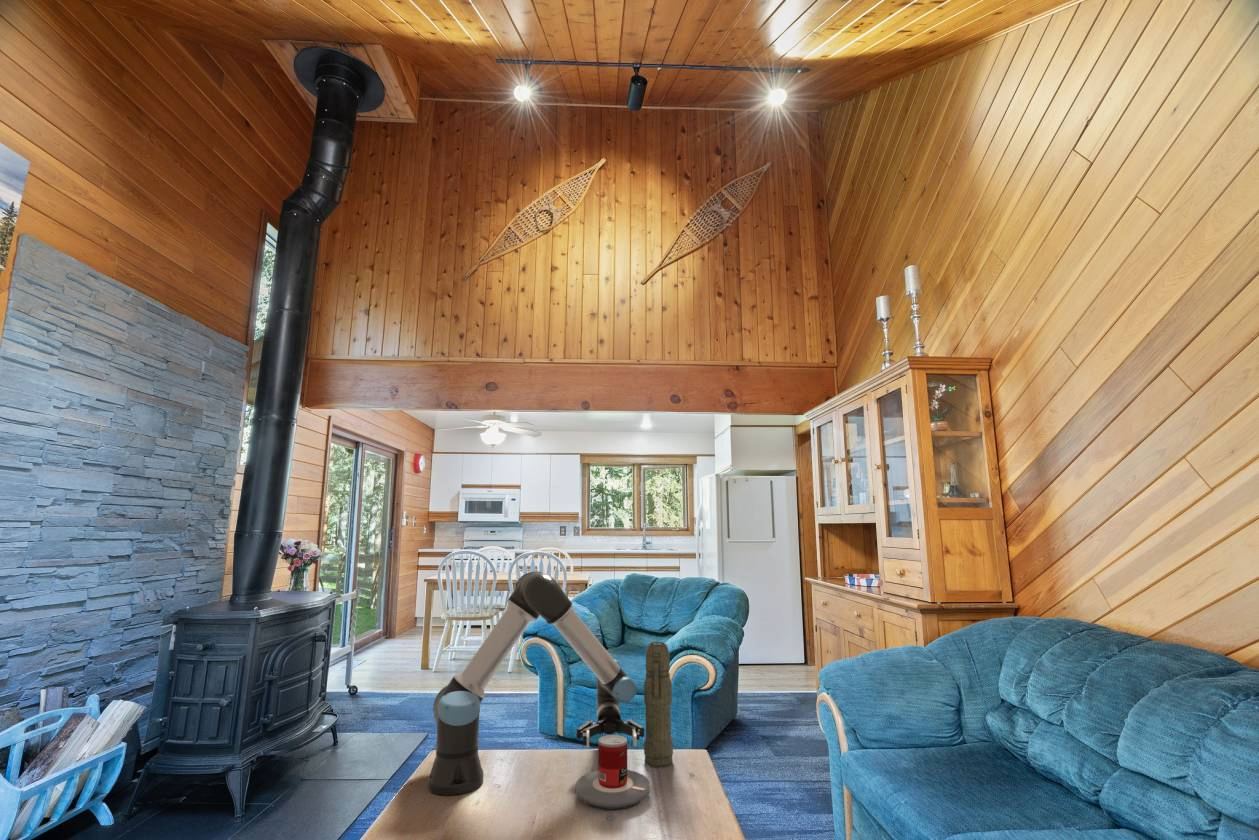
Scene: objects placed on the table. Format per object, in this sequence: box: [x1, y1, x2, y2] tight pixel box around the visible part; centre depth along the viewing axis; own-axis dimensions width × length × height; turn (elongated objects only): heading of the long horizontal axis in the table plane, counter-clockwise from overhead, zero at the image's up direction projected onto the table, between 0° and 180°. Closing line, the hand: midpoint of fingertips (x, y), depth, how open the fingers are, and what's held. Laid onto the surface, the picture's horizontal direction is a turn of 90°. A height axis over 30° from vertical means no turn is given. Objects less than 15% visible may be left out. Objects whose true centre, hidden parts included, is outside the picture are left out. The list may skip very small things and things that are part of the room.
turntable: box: [575, 769, 651, 807], centre depth 164 cm, size 20×20×2 cm
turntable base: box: [584, 801, 642, 812], centre depth 163 cm, size 16×16×2 cm
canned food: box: [597, 734, 628, 789], centre depth 165 cm, size 8×8×11 cm
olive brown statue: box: [643, 641, 674, 769], centre depth 189 cm, size 9×12×35 cm
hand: (611, 742), depth 173 cm, fingers open, 13 cm apart
